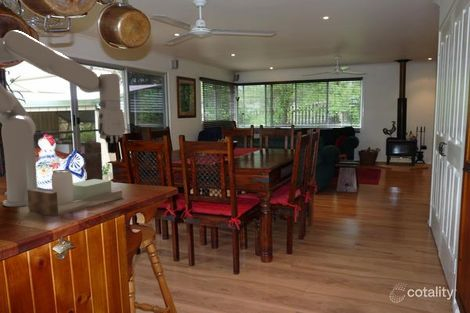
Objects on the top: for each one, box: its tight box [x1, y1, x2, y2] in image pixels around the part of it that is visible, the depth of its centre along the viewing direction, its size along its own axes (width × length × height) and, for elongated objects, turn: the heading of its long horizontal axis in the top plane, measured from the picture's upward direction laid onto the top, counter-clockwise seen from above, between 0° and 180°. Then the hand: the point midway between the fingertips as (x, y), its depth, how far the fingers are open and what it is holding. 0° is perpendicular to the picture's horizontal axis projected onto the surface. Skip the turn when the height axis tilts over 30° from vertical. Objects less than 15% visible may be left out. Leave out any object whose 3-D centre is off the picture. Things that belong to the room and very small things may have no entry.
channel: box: [27, 188, 123, 218], centre depth 132 cm, size 12×30×8 cm, turn 152°
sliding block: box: [73, 179, 112, 201], centre depth 137 cm, size 9×12×6 cm
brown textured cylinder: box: [83, 140, 104, 181], centre depth 167 cm, size 8×7×20 cm
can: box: [51, 169, 74, 205], centre depth 126 cm, size 6×6×12 cm
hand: (112, 152), depth 145 cm, fingers closed
